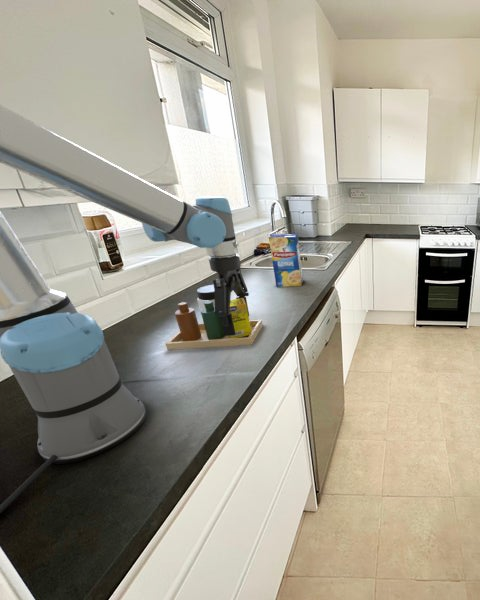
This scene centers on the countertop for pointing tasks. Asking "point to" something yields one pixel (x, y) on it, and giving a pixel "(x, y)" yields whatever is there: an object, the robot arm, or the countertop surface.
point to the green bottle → (212, 322)
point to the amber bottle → (187, 323)
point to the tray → (204, 342)
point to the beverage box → (286, 259)
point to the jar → (205, 296)
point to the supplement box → (240, 318)
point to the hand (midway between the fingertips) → (237, 325)
